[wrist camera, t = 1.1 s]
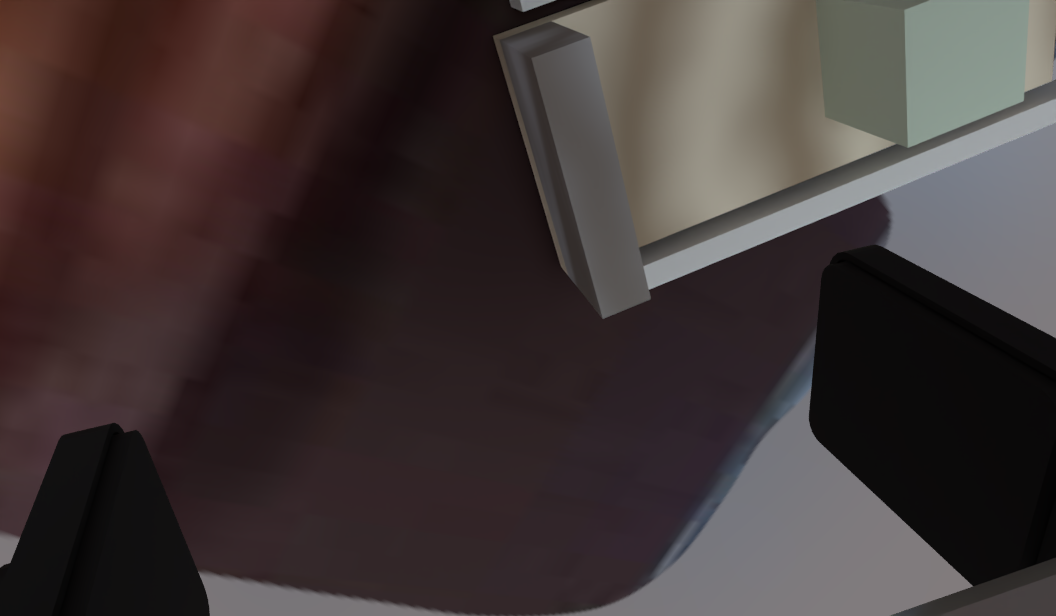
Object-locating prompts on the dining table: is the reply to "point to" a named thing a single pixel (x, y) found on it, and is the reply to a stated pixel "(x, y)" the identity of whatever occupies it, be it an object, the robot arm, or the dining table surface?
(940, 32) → the block
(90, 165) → the dining table surface
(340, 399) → the dining table surface
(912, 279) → the robot arm
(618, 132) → the beige piece
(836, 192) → the lane rails
